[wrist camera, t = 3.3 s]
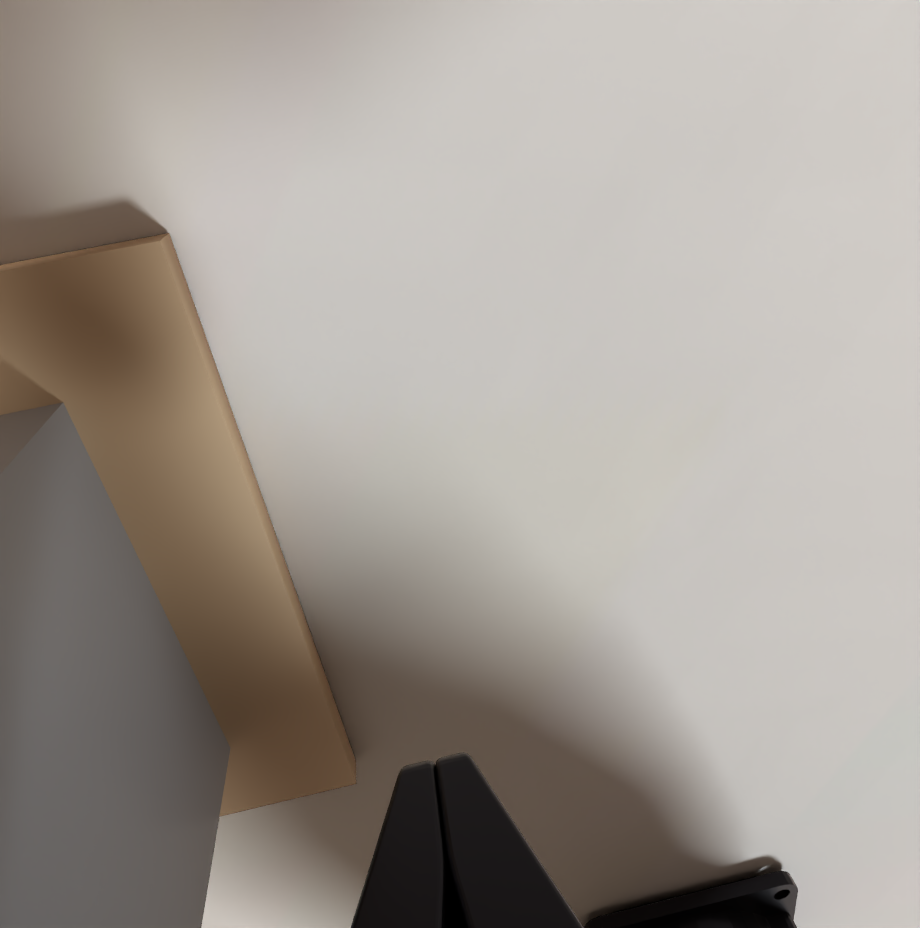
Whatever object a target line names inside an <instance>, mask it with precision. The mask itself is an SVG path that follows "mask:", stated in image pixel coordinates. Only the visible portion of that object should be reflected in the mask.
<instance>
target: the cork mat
mask: <svg viewBox="0 0 920 928" xmlns="http://www.w3.org/2000/svg"><path fill="white" fill-rule="evenodd" d="M62 402H63V403H64V405H65V407H66V409H67V411H68V413H69V415H70V417H71V419H72V421H73V423H74V425H75V428H76V430H77V432H78V434H79V436H80V438H81V440H82V442H83V444H84V446H85V448H86V450H87V452H88V454H89V456H90V459H91V461H92V463H93V465H94V467H95V469H96V471H97V473H98V475H99V477H100V479H101V481H102V483H103V485H104V487H105V490H106V492H107V494H108V496H109V498H110V500H111V502H112V504H113V506H114V508H115V510H116V512H117V514H118V516H119V519H120V521H121V523H122V525H123V527H124V529H125V531H126V533H127V535H128V537H129V539H130V541H131V543H132V545H133V547H134V550H135V552H136V554H137V556H138V558H139V560H140V562H141V564H142V566H143V568H144V570H145V572H146V574H147V576H148V578H149V581H150V583H151V585H152V587H153V589H154V591H155V593H156V595H157V597H158V599H159V601H160V603H161V605H162V607H163V609H164V612H165V614H166V616H167V618H168V620H169V622H170V624H171V626H172V628H173V630H174V632H175V634H176V636H177V638H178V640H179V643H180V645H181V647H182V649H183V651H184V653H185V655H186V657H187V659H188V661H189V663H190V665H191V667H192V669H193V671H194V674H195V676H196V678H197V680H198V682H199V684H200V686H201V688H202V690H203V692H204V694H205V696H206V698H207V700H208V702H209V705H210V707H211V709H212V711H213V713H214V715H215V717H216V719H217V721H218V723H219V725H220V727H221V729H222V731H223V733H224V736H225V738H226V740H227V742H228V744H229V746H230V755H229V761H228V767H227V773H226V779H225V785H224V791H223V797H222V803H221V809H220V816H224V815H228V814H232V813H236V812H240V811H245V810H249V809H253V808H257V807H261V806H265V805H270V804H274V803H278V802H282V801H286V800H291V799H295V798H299V797H303V796H307V795H312V794H316V793H320V792H324V791H328V790H332V789H337V788H341V787H345V786H349V785H353V784H356V760H355V757H354V754H353V752H352V749H351V746H350V743H349V740H348V737H347V735H346V732H345V729H344V726H343V723H342V721H341V718H340V715H339V712H338V709H337V706H336V704H335V701H334V698H333V695H332V692H331V689H330V687H329V684H328V681H327V678H326V675H325V672H324V670H323V667H322V664H321V661H320V658H319V656H318V653H317V650H316V647H315V644H314V641H313V639H312V636H311V633H310V630H309V627H308V624H307V622H306V619H305V616H304V613H303V610H302V607H301V605H300V602H299V599H298V596H297V593H296V590H295V588H294V585H293V582H292V579H291V576H290V574H289V571H288V568H287V565H286V562H285V559H284V557H283V554H282V551H281V548H280V545H279V542H278V540H277V537H276V534H275V531H274V528H273V525H272V523H271V520H270V517H269V514H268V511H267V508H266V506H265V503H264V500H263V497H262V494H261V492H260V489H259V486H258V483H257V480H256V477H255V475H254V472H253V469H252V466H251V463H250V460H249V458H248V455H247V452H246V449H245V446H244V443H243V441H242V438H241V435H240V432H239V429H238V427H237V424H236V421H235V418H234V415H233V412H232V410H231V407H230V404H229V401H228V398H227V395H226V393H225V390H224V387H223V384H222V381H221V378H220V376H219V373H218V370H217V367H216V364H215V361H214V359H213V356H212V353H211V350H210V347H209V345H208V342H207V339H206V336H205V333H204V330H203V328H202V325H201V322H200V319H199V316H198V313H197V311H196V308H195V305H194V302H193V299H192V296H191V294H190V291H189V288H188V285H187V282H186V279H185V277H184V274H183V271H182V268H181V265H180V263H179V260H178V257H177V254H176V251H175V248H174V246H173V243H172V240H171V237H170V234H169V233H166V234H161V235H156V236H151V237H145V238H140V239H135V240H130V241H124V242H119V243H114V244H109V245H103V246H98V247H93V248H88V249H82V250H77V251H72V252H67V253H61V254H56V255H51V256H46V257H40V258H35V259H30V260H25V261H19V262H14V263H9V264H4V265H0V415H3V414H8V413H13V412H18V411H23V410H28V409H32V408H37V407H42V406H47V405H52V404H57V403H62Z"/></svg>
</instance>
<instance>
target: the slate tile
mask: <svg viewBox="0 0 920 928" xmlns="http://www.w3.org/2000/svg"><path fill="white" fill-rule="evenodd" d="M229 755H230V746H229V744H228V742H227V740H226V738H225V736H224V733H223V731H222V729H221V727H220V725H219V723H218V721H217V719H216V717H215V715H214V713H213V711H212V709H211V707H210V705H209V702H208V700H207V698H206V696H205V694H204V692H203V690H202V688H201V686H200V684H199V682H198V680H197V678H196V676H195V674H194V671H193V669H192V667H191V665H190V663H189V661H188V659H187V657H186V655H185V653H184V651H183V649H182V647H181V645H180V643H179V640H178V638H177V636H176V634H175V632H174V630H173V628H172V626H171V624H170V622H169V620H168V618H167V616H166V614H165V612H164V609H163V607H162V605H161V603H160V601H159V599H158V597H157V595H156V593H155V591H154V589H153V587H152V585H151V583H150V581H149V578H148V576H147V574H146V572H145V570H144V568H143V566H142V564H141V562H140V560H139V558H138V556H137V554H136V552H135V550H134V547H133V545H132V543H131V541H130V539H129V537H128V535H127V533H126V531H125V529H124V527H123V525H122V523H121V521H120V519H119V516H118V514H117V512H116V510H115V508H114V506H113V504H112V502H111V500H110V498H109V496H108V494H107V492H106V490H105V487H104V485H103V483H102V481H101V479H100V477H99V475H98V473H97V471H96V469H95V467H94V465H93V463H92V461H91V459H90V456H89V454H88V452H87V450H86V448H85V446H84V444H83V442H82V440H81V438H80V436H79V434H78V432H77V430H76V428H75V425H74V423H73V421H72V419H71V417H70V415H69V413H68V411H67V409H66V407H65V405H64V403H63V402H62V403H57V404H52V405H47V406H42V407H37V408H32V409H28V410H23V411H18V412H13V413H8V414H3V415H0V928H201V925H202V919H203V913H204V907H205V901H206V895H207V889H208V883H209V876H210V870H211V864H212V858H213V852H214V846H215V840H216V834H217V828H218V822H219V816H220V809H221V803H222V797H223V791H224V785H225V779H226V773H227V767H228V761H229Z"/></svg>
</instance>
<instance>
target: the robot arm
mask: <svg viewBox="0 0 920 928" xmlns="http://www.w3.org/2000/svg"><path fill="white" fill-rule="evenodd" d="M797 893H798V889H797V886H796V884H795V883H794V881H793V879H792V877H791V876H790V874H789V873H788V872H785V871H779V872H773V873H769V874H765V875H762V876H758V877H754V878H750V879H746V880H742V881H738V882H734V883H730V884H726V885H722V886H718V887H714V888H711V889H707V890H703V891H699V892H695V893H691V894H687V895H683V896H679V897H675V898H671V899H667V900H663V901H660V902H656V903H652V904H648V905H644V906H640V907H636V908H632V909H628V910H624V911H620V912H616V913H612V914H609V915H605V916H601V917H597V918H595V919H592V920H591V921H589V922H588V923H587V924H586V925H585V926H584V927H583V926H582V924H581V923H580V921H579V920H578V918H577V917H576V915H575V914H574V912H573V911H572V909H571V908H570V906H569V905H568V903H567V902H566V900H565V899H564V897H563V896H562V894H561V893H560V891H559V890H558V888H557V887H556V885H555V883H554V882H553V880H552V879H551V877H550V876H549V874H548V873H547V871H546V870H545V868H544V867H543V865H542V864H541V862H540V861H539V859H538V858H537V856H536V855H535V853H534V852H533V850H532V849H531V847H530V846H529V844H528V843H527V841H526V840H525V838H524V836H523V835H522V833H521V832H520V830H519V829H518V827H517V826H516V824H515V823H514V821H513V820H512V818H511V817H510V815H509V814H508V812H507V811H506V809H505V808H504V806H503V805H502V803H501V802H500V800H499V799H498V797H497V796H496V794H495V792H494V791H493V789H492V788H491V786H490V785H489V783H488V782H487V780H486V779H485V777H484V776H483V774H482V773H481V771H480V770H479V768H478V767H477V765H476V764H475V762H474V761H473V759H472V758H471V756H470V755H468V754H467V753H458V754H454V755H450V756H446V757H441V758H439V759H438V760H437V762H436V766H435V763H434V762H432V761H424V762H420V763H416V764H412V765H407V766H405V767H403V768H402V769H401V771H400V773H399V775H398V778H397V781H396V784H395V787H394V790H393V794H392V797H391V800H390V803H389V807H388V810H387V813H386V816H385V819H384V823H383V826H382V829H381V832H380V835H379V839H378V842H377V845H376V848H375V851H374V855H373V858H372V861H371V864H370V867H369V871H368V874H367V877H366V880H365V883H364V887H363V890H362V893H361V896H360V900H359V903H358V906H357V909H356V912H355V916H354V919H353V922H352V925H351V928H797V927H796V925H795V923H794V921H793V919H794V913H795V906H796V899H797Z"/></svg>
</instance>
